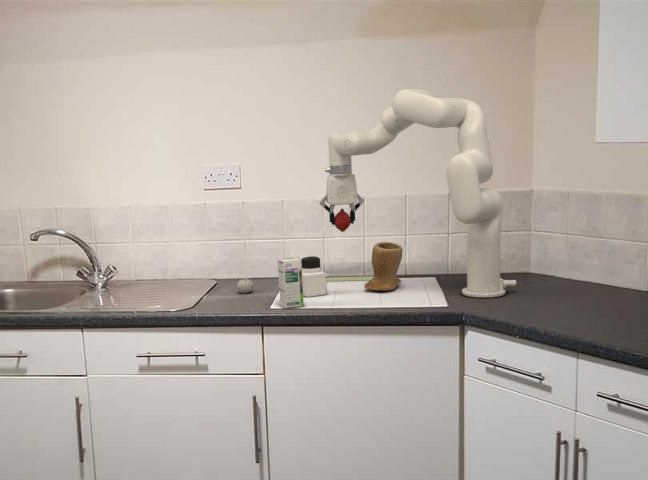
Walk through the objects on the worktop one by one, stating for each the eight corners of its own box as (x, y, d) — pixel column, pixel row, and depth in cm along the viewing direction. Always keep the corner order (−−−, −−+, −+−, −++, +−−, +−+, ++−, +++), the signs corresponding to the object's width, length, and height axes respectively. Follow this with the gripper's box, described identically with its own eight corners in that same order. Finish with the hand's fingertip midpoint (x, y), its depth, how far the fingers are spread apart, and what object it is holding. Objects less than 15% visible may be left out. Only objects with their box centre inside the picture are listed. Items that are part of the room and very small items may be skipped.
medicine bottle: (327, 294, 241) (325, 257, 238) (306, 297, 238) (305, 259, 236) (317, 290, 247) (315, 254, 245) (297, 293, 245) (295, 256, 242)
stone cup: (397, 294, 235) (396, 246, 232) (360, 292, 241) (359, 245, 238) (410, 284, 249) (409, 239, 246) (375, 283, 254) (374, 239, 251)
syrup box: (285, 308, 224) (283, 260, 221) (279, 304, 230) (277, 257, 227) (303, 306, 226) (301, 258, 223) (297, 302, 231) (295, 255, 228)
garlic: (252, 294, 247) (251, 278, 246) (236, 295, 248) (235, 279, 247) (254, 290, 253) (253, 275, 252) (238, 291, 254) (237, 276, 253)
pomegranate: (350, 232, 258) (349, 209, 256) (333, 233, 259) (332, 209, 258) (351, 230, 264) (351, 207, 262) (335, 231, 265) (334, 208, 263)
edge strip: (373, 276, 266) (373, 276, 266) (373, 280, 260) (373, 279, 260) (316, 278, 269) (316, 277, 269) (315, 281, 263) (315, 280, 263)
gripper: (316, 172, 253) (319, 226, 257) (368, 169, 254) (369, 223, 257) (314, 171, 261) (316, 224, 264) (363, 169, 261) (365, 221, 265)
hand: (342, 223), depth 261 cm, fingers closed on pomegranate, 5 cm apart
